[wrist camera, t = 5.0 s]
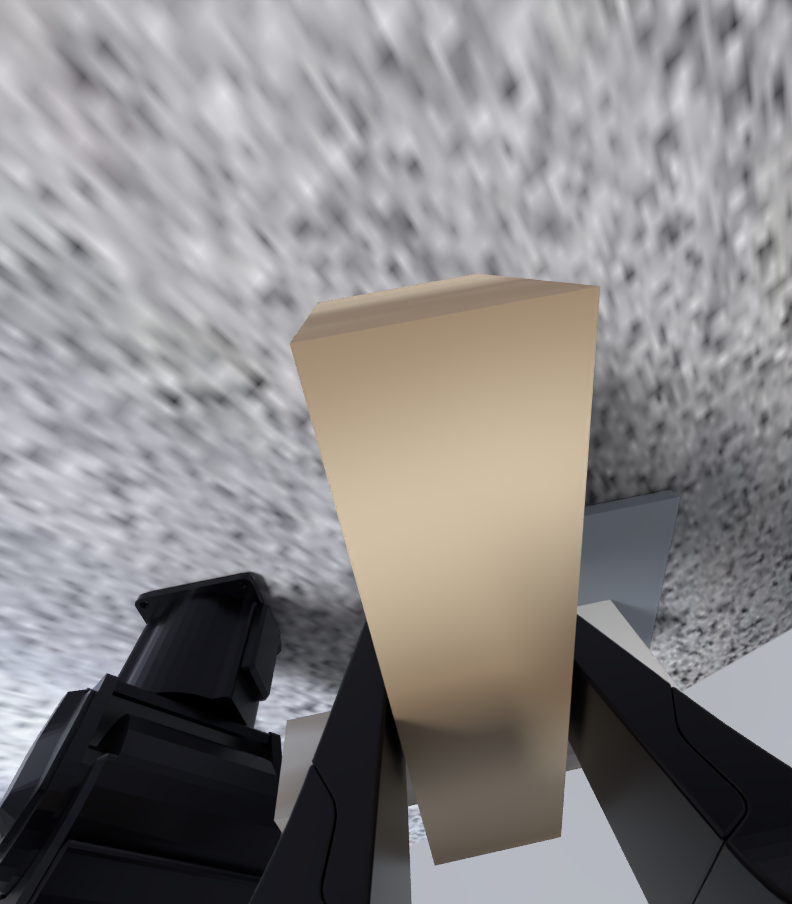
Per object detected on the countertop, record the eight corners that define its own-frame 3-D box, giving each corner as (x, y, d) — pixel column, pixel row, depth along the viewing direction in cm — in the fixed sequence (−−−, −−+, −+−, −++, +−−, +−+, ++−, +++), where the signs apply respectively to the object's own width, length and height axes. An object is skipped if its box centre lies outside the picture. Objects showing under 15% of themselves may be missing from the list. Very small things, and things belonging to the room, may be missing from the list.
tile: (506, 638, 26) (556, 757, 20) (505, 621, 25) (557, 739, 19) (607, 617, 26) (689, 728, 20) (610, 599, 26) (695, 709, 19)
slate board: (412, 727, 31) (413, 738, 30) (370, 549, 23) (370, 558, 22) (634, 679, 31) (641, 689, 30) (670, 489, 23) (680, 496, 22)
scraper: (100, 342, 7) (-148, 424, 4) (682, 236, 7) (991, 214, 4) (294, 734, 13) (273, 916, 9) (617, 665, 13) (718, 815, 10)
